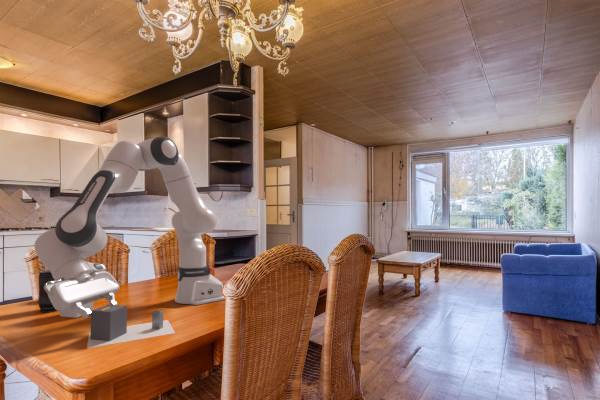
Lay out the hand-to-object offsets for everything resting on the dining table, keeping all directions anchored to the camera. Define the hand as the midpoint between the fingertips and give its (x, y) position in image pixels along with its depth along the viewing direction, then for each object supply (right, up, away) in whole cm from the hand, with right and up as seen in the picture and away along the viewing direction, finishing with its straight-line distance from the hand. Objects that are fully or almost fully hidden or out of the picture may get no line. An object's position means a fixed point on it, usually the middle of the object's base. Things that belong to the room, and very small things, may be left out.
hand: (102, 311), depth 96 cm
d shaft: (+14, -7, +6) cm, 16 cm away
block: (+2, -7, -1) cm, 7 cm away
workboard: (+8, -9, +2) cm, 12 cm away
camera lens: (-38, -10, +30) cm, 49 cm away
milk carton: (-24, -10, +24) cm, 35 cm away
